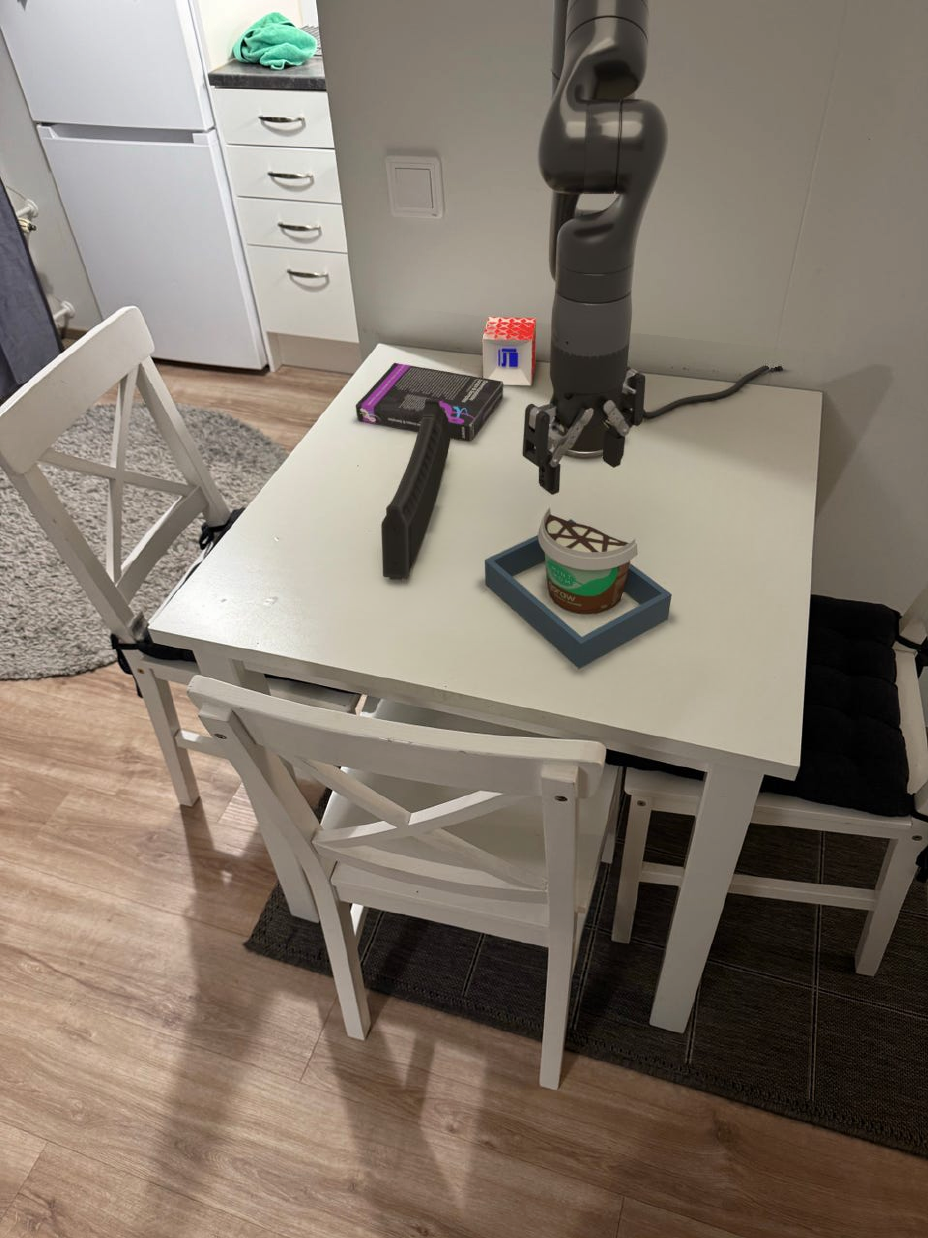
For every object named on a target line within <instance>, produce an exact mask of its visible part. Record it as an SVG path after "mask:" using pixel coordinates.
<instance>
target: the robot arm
mask: <svg viewBox="0 0 928 1238" xmlns="http://www.w3.org/2000/svg"><path fill="white" fill-rule="evenodd" d="M650 2H651V0H552V12H551V13H552V14H551V15H552V16H551V47H550V48H551V49H550V104H549V106H548V109H547V112H546V114H545V117H544V119H543V123H542V127H541V130H540V133H539V137H538V141H537V142H538V143H537V157H536V159H537V165H538V170H539V173H540V176H541V178H542V179H543V181H544V183H545V184H546V186H548V188H550V189H551V199H550V219H549V234H548V236H549V237H548V265H549V266H548V267H549V272H550V276H551V279H552V280H553V282H554V295H553V300H552V301H553V302H552V307H551V321H550V323H551V324H550V349H549V351H550V353H549V354H550V355H549V379H550V382H551V385H552V390H553V392H552V396H551V398H550V401H549V403H546V404H544V405H540V406H537V405H536V404H535V403H529V404H528V405H527V406H526V407H525V408H524V409H525V410H524V420H523V421H524V422H523V424H524V425H523V439H522V452H521V453H522V457H523V458H524V459H526V460H528V461H529V462H530V463H532V464H533V465H534V466H536V467H537V468H538V484H539V485H538V486H540V487H541V488H542V489H543V490H544V491H546V492H547V493H548V494H550V495H551V496H554V495H556V494H558V493H560V487H561V486H560V485H561V463H560V462H561V460H562V458H563V457H564V455H566V456H569V457H572V458H578V459H594V458H599V457H602V461H603V462H604V463H606V464H607V465H609V466H610V467H612V468H613V469H614V468H616V467H619V466H621V464H622V459H623V457H624V454H625V444H626V436H628V435H629V433H630V431H631V429H632V427H633V426H635V427H639V426H640V425H641V424H642V423H643V421H644V419H654V418H657V417H660V416H662V415H664V414H666V413H668V412H669V411H671V410H673V409H675V408H677V407H679V406H683V405H686V404H692V403H697V402H705V401H713V400H717V399H721V398H724V397H727V396H729V395H732V394H734V393H735V392H737V391H738V390H739V389H740V388H741V387H742V386H744V385H745V383H746V382H749V381H750V380H752V379H754V378H755V377H757V376H759V375H761V374H763V373H764V372H766V371H768V370H775V371H778V372H782V371H784V368H783V366H782V365H781V366H778V367H775V368H771V369H769V367H768V366H766V364H764V365H765V366H764V365H762V366H760V367H757V368H756V369H755V370H753V371H751V372H749V373H747V374H746V375H744V376H743V377H741V378H740V379H739V380H738V381H737V382H736V383H734V384H733V385H732V386H730V387H728V388H727V389H724V390H721V391H718V392H712V393H706V394H697V395H692V396H687V397H686V396H685V397H682V398H678V399H676V400H673V401H672V402H670V403H669V404H666V405H664V406H662V407H660V408H658V409H657V410H654V411H646V410H645V409H644V407H645V393H646V376H645V375H644V374H643V373H640V372H639V371H637V370H635V369H634V368H631V367H630V366H628V362H629V361H628V360H629V352H630V343H631V342H630V340H631V329H632V319H633V302H632V301H633V300H632V299H633V298H632V293H633V291H632V288H633V279H634V267H635V257H636V250H637V249H636V248H637V243H638V242H637V241H638V238H639V233H640V229H641V225H642V222H643V219H644V215H645V213H646V209H647V206H648V203H649V200H650V199H651V195H652V194H653V190H654V188H655V185H656V184H657V181H658V178H659V175H660V173H661V170H662V167H663V165H664V162H665V157H666V154H667V151H668V150H667V149H668V142H669V130H668V129H669V128H668V124H667V121H666V118H665V115H664V113H663V111H662V110H661V108H660V106H658V104H656V103H655V102H654V101H652V100H650V99H645V98H635V97H636V92H637V91H638V90H639V89H640V87H641V86H642V84H643V82H644V80H645V77H646V74H647V69H648V60H649V59H648V58H649V31H650ZM614 194H615V195H617V196H616V198H615V200H614V201H613V202H612V203H611V204H610V205H609V206H608V207H606V208H604V209H589V208H588V209H583V208H578V207H577V206H578V204H579V200H580V198H581V196H582V195H614ZM553 446H554V449H553V451H552V450H551V449H552V447H553Z"/></svg>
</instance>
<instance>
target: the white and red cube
mask: <svg viewBox="0 0 928 1238" xmlns="http://www.w3.org/2000/svg"><path fill="white" fill-rule="evenodd" d="M481 340H482V341H481V348H482V378H486V379H491V380H496V381H502V382H503V386H504V385H505V386H509V385H511V386H532V385H533V379H534V371H535V368H536V352H537V351H536V350H537V349H536V346H537V345H536V344H537V343H536V342H537V318H536V317H501V316H500V317H499V316H488V318H487V321H486V325H485V329H484V332H483V335H482V339H481Z"/></svg>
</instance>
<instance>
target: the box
mask: <svg viewBox="0 0 928 1238" xmlns="http://www.w3.org/2000/svg"><path fill="white" fill-rule="evenodd" d="M503 398H504V385H503V382H502V381H496V380H491V379H486V378H483V377H478V376H475V375H467V374H462V373H457V372H453V371H452V372H451V371H450V372H449V371H445V370H439V369H435V368H428V367H422V366H417V365H411V364H406V363H405V364H404V363H398V362H393V363H392V364H391V365H390V367H389V368H388V369H387V370H386V371H385V373H384V374H383V375H382V376H381V377H380V378H379V379H378V380H377V381H376V382H375V384H374V385H372V387H371V388H370V389H369V390H368V391H367V392H366V393H365V394H364V395H363V397H362V398H361V399H360V400H359V401H357V403H356V404H355V405H354V406H355V412H356V416H357V420H358V422H364V423H368V424H369V423H370V424H374V425H381V426H386V427H391V428H397V429H402V430H408V431H411V432H417V433H418V431H419V427H420V424H421V421H422V415H423V412H424V408H425V400H426V399H437V400H439V404H440V407H441V408H442V409H444V410H445V413H446V415H447V417H448V420H449V427H450V434H451V439H454V440H459V441H460V440H461V441H464V442H469V443H472V441H473V440H474V438H476V436H477V434H478V432H479V431H480V430H481V428H482V427H483V425H484V424H485V423H486V421H487V420H488V419H489V417H490V416H491V414H492V413H493V412H494V410H495V409H496V408H497V406H498V405H499V403H500V402H501V401H502V400H503Z"/></svg>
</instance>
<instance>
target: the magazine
mask: <svg viewBox="0 0 928 1238" xmlns="http://www.w3.org/2000/svg"><path fill="white" fill-rule="evenodd" d="M451 440H452V438H451V434H450V427H449V420H448V417H447V415H446V413H445V410H444V409H442V408H441V407H440V404H439V400H437V399H426V400H425V408H424V412H423V415H422V421H421V424H420V427H419V431H418V432H417V435H416V438H415V442H414V445H413V449H412V451H411V453H410V457H409V460H408V463H407V465H406V467H405V470H404V473H403V476H402V477H401V480H400V482H399V485H398V487H397V490H396V492H395V494H394V496H393V498H392V499H391V502H390V503H389V504H388V505H387V506H386V508H385V511H386V512H385V514H386V515H385V516H384V518H383V520H382V521H381V525H380V527H381V533H380V534H381V555H382V556H381V558H382V559H381V560H382V561H381V563H382V577H383V578H385V579H386V578H387V579H388V578H389V580H397V581H402V580H409V578H410V573H411V570H412V568H413V567H414V566H413V565H414V563H415V561H416V558H417V556H418V553H419V551H420V548H421V546H422V543H423V541H424V538H425V535H426V532H427V530H428V527H429V523H430V521H431V519H432V518H431V517H432V516H433V512H434V508H435V505H436V501H437V498H438V494H439V490H440V487H441V483H442V478H443V474H444V471H445V466H446V462H447V458H448V454H449V449H450V444H451Z"/></svg>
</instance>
